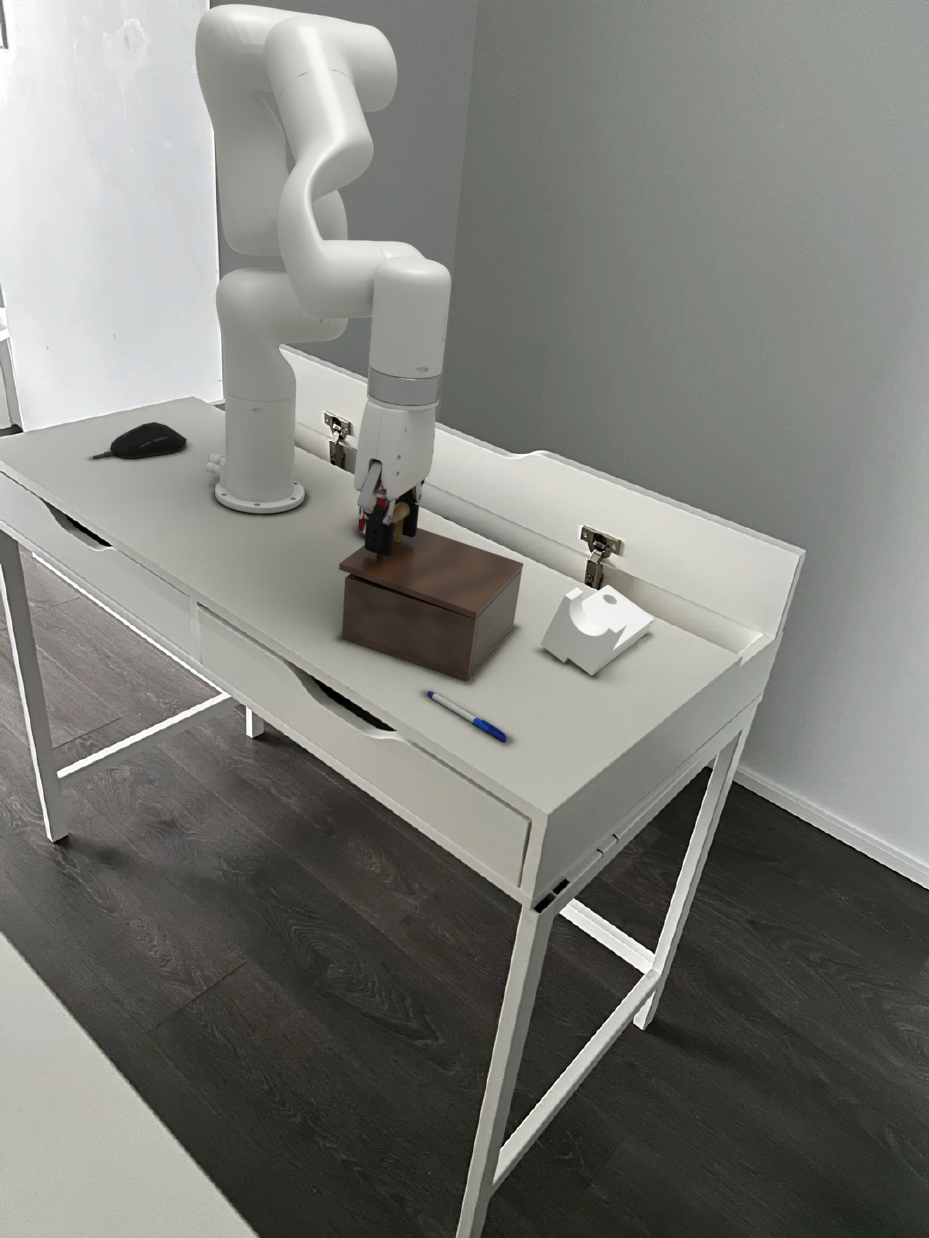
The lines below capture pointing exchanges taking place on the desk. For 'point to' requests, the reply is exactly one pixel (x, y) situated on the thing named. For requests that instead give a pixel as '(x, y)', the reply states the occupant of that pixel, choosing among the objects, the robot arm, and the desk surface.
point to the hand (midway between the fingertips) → (390, 541)
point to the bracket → (595, 628)
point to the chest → (426, 626)
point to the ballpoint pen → (470, 717)
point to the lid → (435, 569)
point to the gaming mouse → (146, 441)
